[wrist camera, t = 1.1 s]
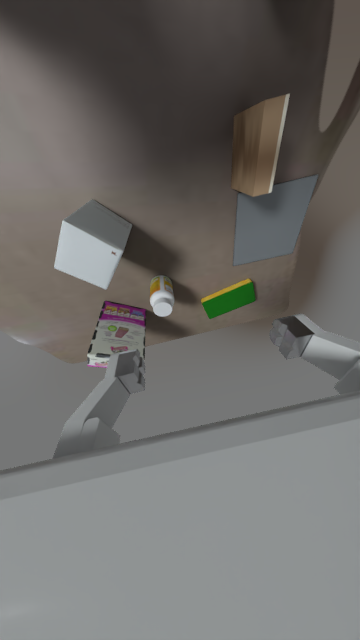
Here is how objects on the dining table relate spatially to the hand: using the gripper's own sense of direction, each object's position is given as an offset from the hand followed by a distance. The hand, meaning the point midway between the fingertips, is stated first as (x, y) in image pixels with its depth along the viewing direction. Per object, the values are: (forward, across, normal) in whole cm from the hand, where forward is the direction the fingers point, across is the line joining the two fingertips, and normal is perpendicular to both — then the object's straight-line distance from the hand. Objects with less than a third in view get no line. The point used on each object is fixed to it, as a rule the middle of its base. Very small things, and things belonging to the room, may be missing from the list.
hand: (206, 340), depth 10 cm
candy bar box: (+32, +15, +17) cm, 40 cm away
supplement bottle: (+31, +4, +11) cm, 33 cm away
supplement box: (+30, +11, -3) cm, 32 cm away
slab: (+28, -14, -9) cm, 33 cm away
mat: (+29, -21, +2) cm, 36 cm away
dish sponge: (+32, -14, +19) cm, 40 cm away
